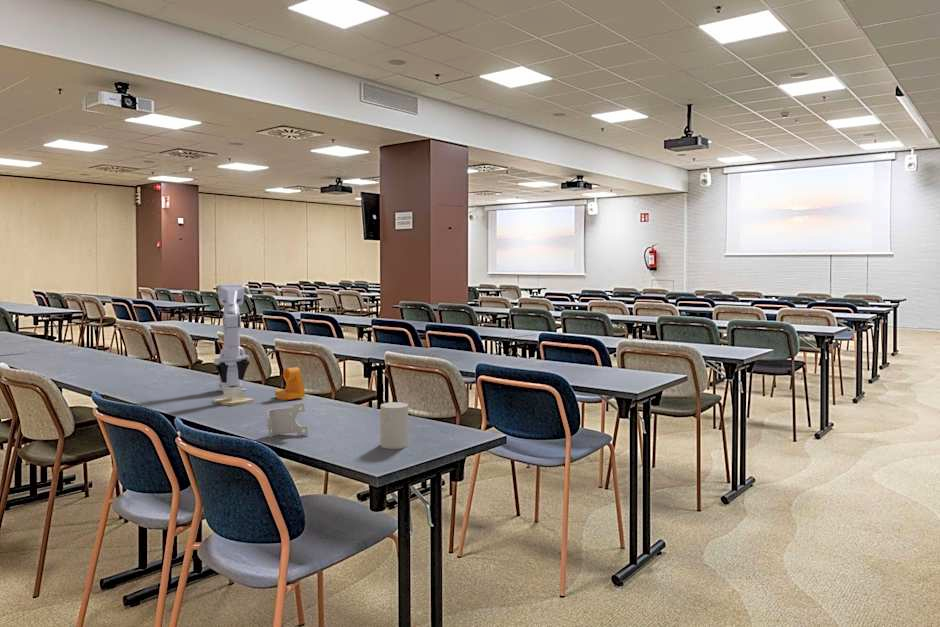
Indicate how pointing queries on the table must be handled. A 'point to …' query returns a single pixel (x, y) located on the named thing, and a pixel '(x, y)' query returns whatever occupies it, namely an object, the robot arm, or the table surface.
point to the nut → (233, 393)
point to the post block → (232, 403)
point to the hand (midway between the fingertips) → (232, 381)
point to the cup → (394, 425)
